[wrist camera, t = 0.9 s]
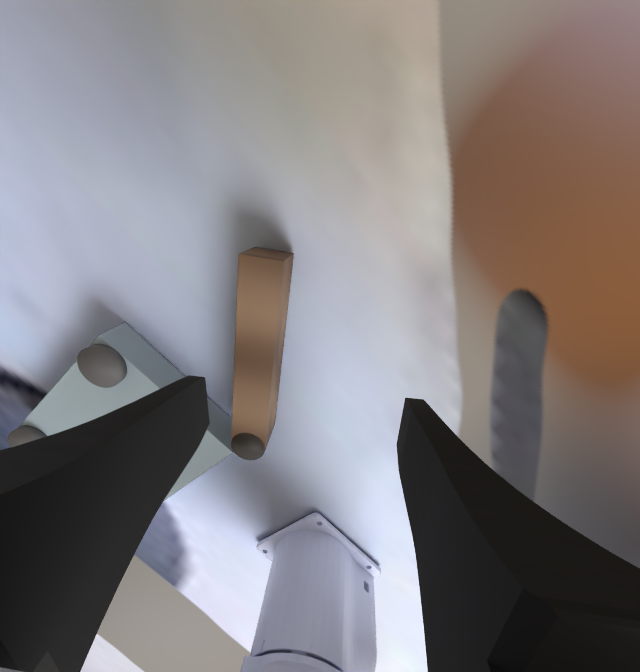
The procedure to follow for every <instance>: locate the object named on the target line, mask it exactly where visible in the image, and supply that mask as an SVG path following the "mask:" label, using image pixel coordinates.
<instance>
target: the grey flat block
mask: <svg viewBox="0 0 640 672" xmlns="http://www.w3.org/2000/svg"><path fill="white" fill-rule="evenodd" d="M184 377H185V376H184V375H183V374H182V373H181V372H180V371H179V370H177V369H176V368H175V367H174V366H173V365H172V364H171V363H170V362H169V361H168V360H166V359H165V358H164V357H163V356H162V355H161V354H160V353H159V352H158V351H157V350H155V349H154V348H153V347H152V346H151V345H150V344H149V343H148V342H147V341H146V340H145V339H143V338H142V337H141V336H140V335H139V334H138V333H137V332H136V331H135V330H134V329H132V328H131V327H130V326H129V325H128V324H127V323H126V322H124V323H122V324H120V325H118V326H116V327H114V328H112V329H110V330H108V331H106V332H104V333H102V334H100V335H99V336H98V337H97V338H96V339H95V340H94V341H93V343H92V344H91V345H90V346H89V347H87V348H85V349H83V350H82V351H81V352H80V353H79V355H78V358H77V361H76V362H75V363H74V364H73V365H72V367H71V368H70V369H69V370H68V371H67V372H66V373H65V375H64V376H63V377H62V378H61V379H60V380H59V381H58V383H57V384H56V385H55V386H54V387H53V388H52V389H51V391H50V392H49V393H48V394H47V395H46V396H45V397H44V399H43V400H42V401H41V402H40V403H39V404H38V405H37V407H36V408H35V409H34V410H33V411H32V412H31V413H30V415H29V416H28V417H27V418H26V419H25V420H24V421H23V423H22V424H21V425H20V426H19V427H18V428H17V429H15V430H14V431H12V432H11V433H10V434H9V435H8V442H9V445H10V446H11V447H14V446H18V445H21V444H24V443H27V442H30V441H34V440H37V439H40V438H43V437H46V436H49V435H53V434H56V433H59V432H62V431H64V430H67V429H70V428H72V427H75V426H78V425H81V424H83V423H86V422H88V421H91V420H93V419H96V418H98V417H101V416H103V415H105V414H107V413H110V412H112V411H114V410H116V409H119V408H121V407H123V406H125V405H127V404H130V403H132V402H134V401H136V400H138V399H140V398H142V397H144V396H146V395H148V394H150V393H152V392H155V391H157V390H159V389H161V388H163V387H165V386H167V385H169V384H171V383H173V382H175V381H177V380H179V379H182V378H184ZM207 401H208V411H209V420H210V424H209V426H208V428H207V430H206V433H205V435H204V437H203V439H202V441H201V443H200V445H199V447H198V449H197V450H196V452H195V454H194V455H193V457H192V458H191V460H190V461H189V463H188V464H187V466H186V467H185V469H184V471H183V472H182V474H181V475H180V477H179V478H178V480H177V481H176V483H175V484H174V486H173V487H172V489H171V490H170V492H169V493H168V495H167V496H166V498H165V499H164V500H166V499H167V498H169V497H170V496H172V495H173V494H174V493H176V492H177V491H179V490H180V489H181V488H183V487H184V486H186V485H187V484H189V483H190V482H191V481H193V480H194V479H196V478H197V477H199V476H200V475H201V474H203V473H204V472H206V471H207V470H208V469H210V468H211V467H213V466H214V465H216V464H217V463H218V462H220V461H221V460H223V459H224V458H226V457H227V456H228V455H230V454H231V453H233V450H232V447H231V429H232V419H231V418H230V417H229V416H228V415H227V414H226V413H225V412H224V411H222V410H221V409H220V408H219V407H218V406H217V405H216V404H215V403H214V402H213V401H212V400H210V399H209V398H208V397H207Z"/></svg>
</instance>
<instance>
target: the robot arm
mask: <svg viewBox="0 0 640 672" xmlns="http://www.w3.org/2000/svg"><path fill="white" fill-rule="evenodd" d="M209 424H210V420H209V411H208V401H207V392H206V383H205V377H197V376H187V377H184V378H182V379H179V380H177V381H175V382H173V383H171V384H169V385H167V386H165V387H163V388H161V389H159V390H157V391H155V392H152V393H150V394H148V395H146V396H144V397H142V398H140V399H138V400H136V401H134V402H132V403H130V404H127V405H125V406H123V407H121V408H119V409H116V410H114V411H112V412H110V413H107V414H105V415H103V416H101V417H98V418H96V419H93V420H91V421H88V422H86V423H83V424H81V425H78V426H75V427H72V428H70V429H67V430H64V431H62V432H59V433H56V434H53V435H49V436H46V437H43V438H40V439H37V440H34V441H30V442H27V443H24V444H21V445H18V446H14V447H11V448H7V449H3V450H0V672H80V671H81V668H82V666H83V664H84V661H85V659H86V657H87V654H88V652H89V650H90V648H91V645H92V643H93V641H94V638H95V636H96V634H97V631H98V629H99V627H100V625H101V622H102V620H103V618H104V616H105V613H106V612H107V609H108V607H109V605H110V603H111V601H112V599H113V597H114V594H115V592H116V590H117V588H118V586H119V584H120V582H121V580H122V578H123V576H124V573H125V572H126V570H127V568H128V566H129V564H130V561H131V560H132V557H133V556H134V554H135V552H136V549H137V547H138V546H139V544H140V542H141V540H142V538H143V536H144V534H145V532H146V530H147V529H148V527H149V525H150V523H151V521H152V519H153V517H154V516H155V514H156V512H157V511H158V509H159V507H160V506H161V504H162V502H163V501H164V499H165V498H166V496H167V495H168V493H169V492H170V490H171V489H172V487H173V486H174V484H175V483H176V481H177V480H178V478H179V477H180V475H181V474H182V472H183V471H184V469H185V467H186V466H187V464H188V463H189V461H190V460H191V458H192V457H193V455H194V454H195V452H196V450H197V449H198V447H199V445H200V443H201V441H202V439H203V437H204V435H205V433H206V430H207V428H208V426H209ZM397 454H398V466H399V474H400V479H401V484H402V488H403V493H404V498H405V503H406V507H407V512H408V517H409V521H410V526H411V531H412V535H413V541H414V547H415V552H416V560H417V569H418V577H419V586H420V595H421V604H422V614H423V623H424V633H425V644H426V655H427V666H428V672H640V568H638V567H636V566H634V565H632V564H630V563H629V562H627V561H625V560H623V559H622V558H620V557H618V556H616V555H615V554H613V553H611V552H609V551H608V550H606V549H604V548H603V547H601V546H599V545H598V544H596V543H595V542H593V541H591V540H590V539H588V538H587V537H585V536H583V535H582V534H580V533H579V532H577V531H575V530H574V529H572V528H571V527H569V526H568V525H566V524H565V523H563V522H562V521H560V520H559V519H557V518H556V517H554V516H553V515H551V514H550V513H548V512H547V511H546V510H544V509H543V508H541V507H540V506H539V505H537V504H536V503H534V502H533V501H532V500H530V499H529V498H527V497H526V496H525V495H523V494H522V493H521V492H519V491H518V490H517V489H516V488H514V487H513V486H512V485H511V484H509V483H508V482H507V481H506V480H504V479H503V478H502V477H501V476H499V475H498V474H497V473H496V472H495V471H493V470H492V469H491V468H490V467H489V466H488V465H487V464H485V463H484V462H483V461H482V460H481V459H480V458H479V457H478V456H477V455H476V454H475V453H474V452H472V451H471V450H470V449H469V448H468V447H467V446H466V445H465V444H464V443H463V442H462V441H461V440H460V439H459V438H458V437H457V436H456V435H455V434H454V433H453V431H452V430H451V429H450V428H449V427H448V426H447V425H446V424H445V423H444V422H443V421H442V420H441V418H440V417H439V416H438V415H437V414H436V413H435V412H434V411H433V409H432V408H431V407H430V406H429V405H428V404H427V403H426V402H425V401H424V400H423V399H413V398H405V403H404V408H403V413H402V419H401V424H400V430H399V435H398V440H397ZM256 548H257V550H258V551H260V552H261V553H262V554H263V555H265V556H266V557H267V558H268V559H270V560H271V561H272V565H271V569H270V573H269V578H268V582H267V586H266V590H265V595H264V599H263V603H262V607H261V611H260V616H259V620H258V624H257V628H256V633H255V637H254V641H253V645H252V649H251V654H250V656H245V657H244V660H243V664H242V668H241V672H375V667H376V659H377V645H376V622H375V600H374V577H377V576H379V575H380V574H381V570H380V567H378V566H377V565H376V564H375V563H374V562H373V561H372V560H371V559H369V558H368V557H367V556H366V555H365V554H364V553H363V552H362V551H361V550H359V549H358V548H357V547H356V546H355V545H354V544H353V543H352V542H350V541H349V540H348V539H347V538H346V537H345V536H344V535H343V534H341V533H340V532H339V531H338V530H337V529H336V528H335V527H334V526H333V525H331V524H330V523H329V522H328V521H327V520H326V519H325V518H324V517H322V516H321V515H320V514H319V513H312V514H310V515H308V516H306V517H304V518H303V519H301V520H299V521H297V522H295V523H293V524H291V525H290V526H288V527H286V528H284V529H282V530H280V531H278V532H276V533H275V534H273V535H271V536H269V537H267V538H265V539H263V540H262V541H260V542H258V544H257V547H256Z"/></svg>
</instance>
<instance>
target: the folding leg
mask: <svg viewBox="0 0 640 672" xmlns="http://www.w3.org/2000/svg"><path fill="white" fill-rule="evenodd" d="M293 256H294V253H288V252H282V251H276V250H270V249H264V248H258V247H255V248H252V249H250V250H247V251H245V252H242V253H240V254H239V261H238V285H237V309H236V333H235V357H234V381H233V405H232V429H231V447H232V450H233V451H234V453H235V454H236V455H238V456H239V457H241V458H243V459H246V460H255V459H258V458H260V457H261V456H262V455H263V454H264V451H265V449H266V446H267V443H268V441H269V438H270V435H271V433H272V430H273V427H274V425H275V418H276V409H277V400H278V391H279V382H280V373H281V364H282V355H283V346H284V337H285V328H286V319H287V310H288V301H289V292H290V283H291V274H292V265H293Z"/></svg>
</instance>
